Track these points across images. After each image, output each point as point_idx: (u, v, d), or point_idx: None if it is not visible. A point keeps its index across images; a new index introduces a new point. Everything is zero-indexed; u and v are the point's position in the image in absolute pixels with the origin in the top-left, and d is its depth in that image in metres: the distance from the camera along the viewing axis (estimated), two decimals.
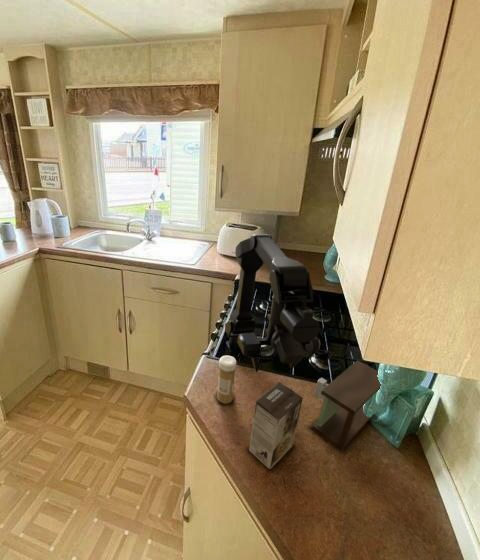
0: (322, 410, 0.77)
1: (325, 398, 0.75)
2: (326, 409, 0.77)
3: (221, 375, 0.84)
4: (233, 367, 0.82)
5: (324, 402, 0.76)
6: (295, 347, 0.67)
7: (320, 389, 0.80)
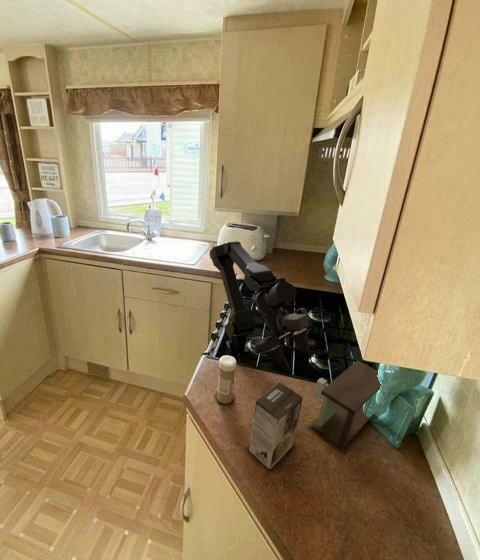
0: (322, 410, 0.77)
1: (325, 398, 0.75)
2: (326, 409, 0.77)
3: (221, 375, 0.84)
4: (233, 367, 0.82)
5: (324, 402, 0.76)
6: (297, 315, 0.81)
7: (320, 389, 0.80)
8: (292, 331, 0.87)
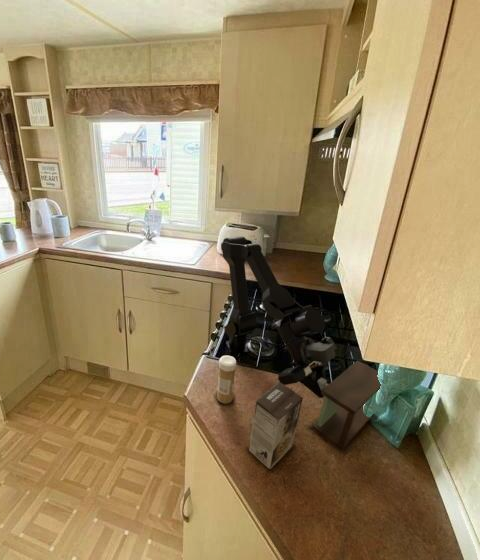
0: (322, 410, 0.77)
1: (325, 398, 0.75)
2: (326, 409, 0.77)
3: (221, 375, 0.84)
4: (233, 367, 0.82)
5: (324, 402, 0.76)
6: (322, 346, 0.78)
7: None
8: None
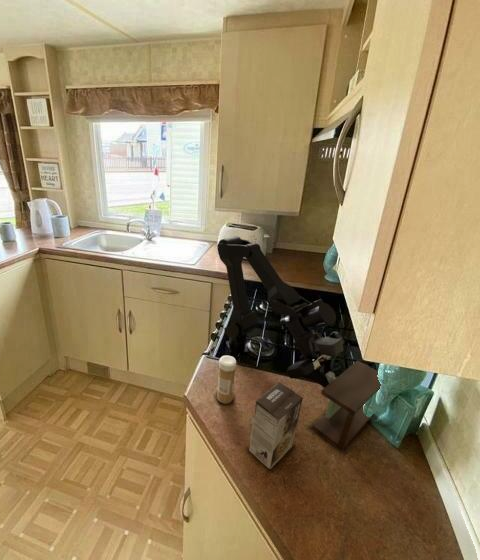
0: (330, 402, 0.79)
1: None
2: None
3: (221, 375, 0.84)
4: (233, 367, 0.82)
5: None
6: (331, 340, 0.80)
7: None
8: (317, 359, 0.84)
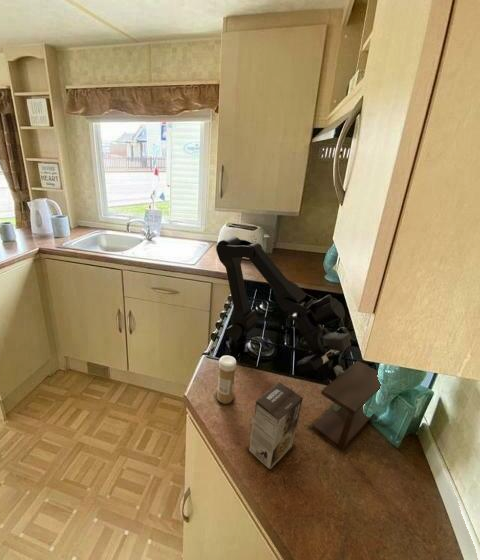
0: None
1: None
2: None
3: (221, 375, 0.84)
4: (233, 367, 0.82)
5: None
6: (339, 335, 0.82)
7: None
8: (325, 354, 0.86)
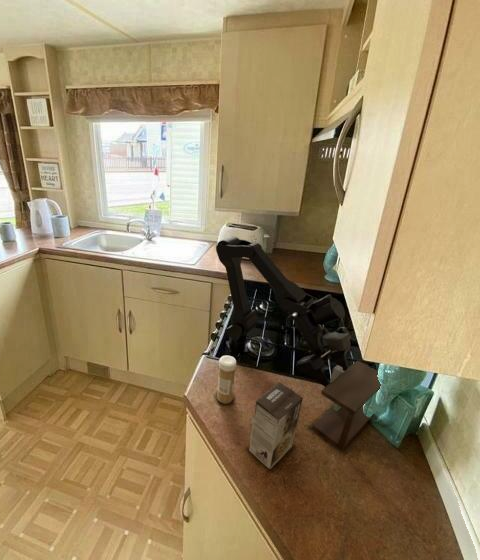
0: None
1: None
2: None
3: (221, 375, 0.84)
4: (233, 367, 0.82)
5: None
6: (338, 335, 0.82)
7: (336, 376, 0.84)
8: None
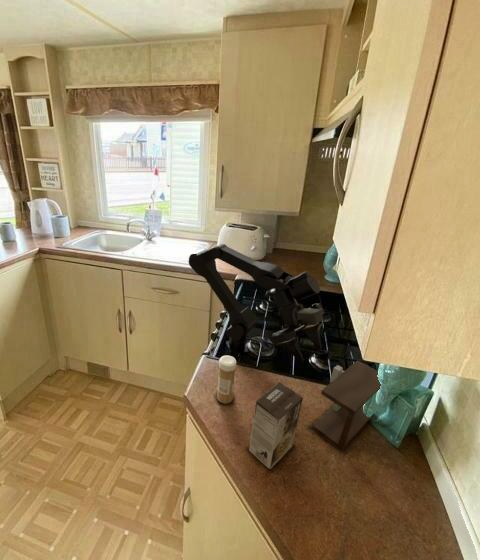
0: None
1: None
2: None
3: (221, 375, 0.84)
4: (233, 367, 0.82)
5: None
6: (312, 310, 0.87)
7: (336, 376, 0.84)
8: (305, 324, 0.93)
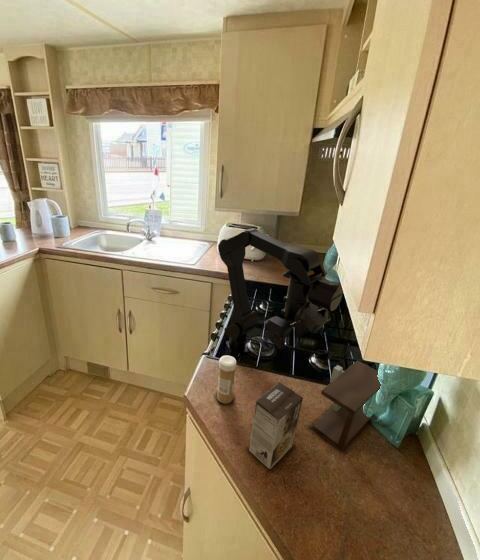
0: None
1: None
2: None
3: (221, 375, 0.84)
4: (233, 367, 0.82)
5: None
6: (318, 317, 0.82)
7: (336, 376, 0.84)
8: None
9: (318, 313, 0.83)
